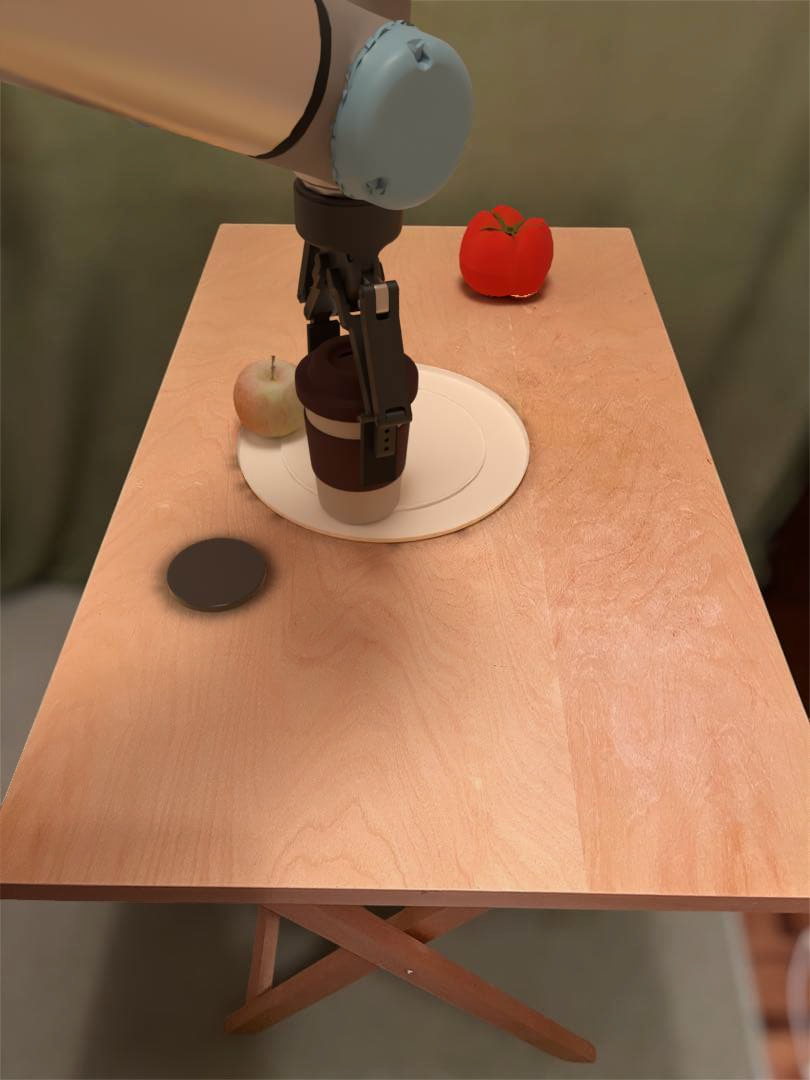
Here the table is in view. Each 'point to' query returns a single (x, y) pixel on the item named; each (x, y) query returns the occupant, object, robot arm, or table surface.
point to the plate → (408, 465)
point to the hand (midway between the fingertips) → (350, 433)
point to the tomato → (505, 253)
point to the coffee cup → (344, 433)
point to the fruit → (268, 398)
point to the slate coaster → (216, 575)
